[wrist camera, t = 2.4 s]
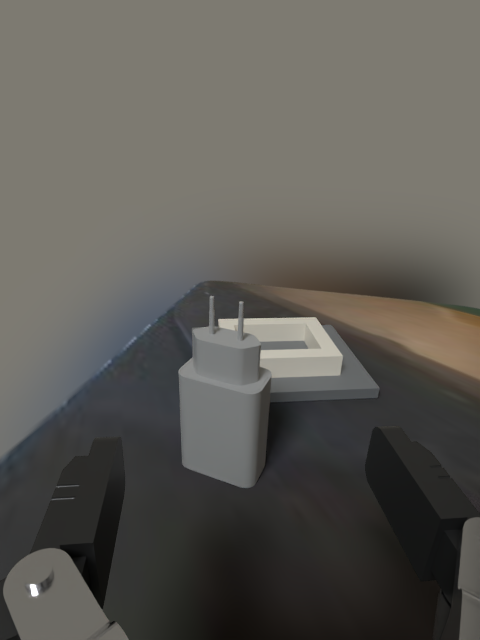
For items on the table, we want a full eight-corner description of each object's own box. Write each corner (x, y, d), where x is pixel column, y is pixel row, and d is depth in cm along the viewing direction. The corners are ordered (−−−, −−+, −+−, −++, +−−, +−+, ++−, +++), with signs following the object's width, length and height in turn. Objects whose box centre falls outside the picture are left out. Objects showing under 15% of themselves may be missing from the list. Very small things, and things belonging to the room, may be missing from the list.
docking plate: (330, 332, 47) (333, 309, 46) (377, 397, 35) (383, 368, 34) (192, 335, 45) (191, 311, 44) (193, 405, 33) (192, 374, 32)
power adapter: (251, 491, 25) (262, 317, 20) (177, 464, 27) (170, 299, 22) (268, 459, 28) (280, 297, 23) (199, 436, 30) (197, 283, 25)
